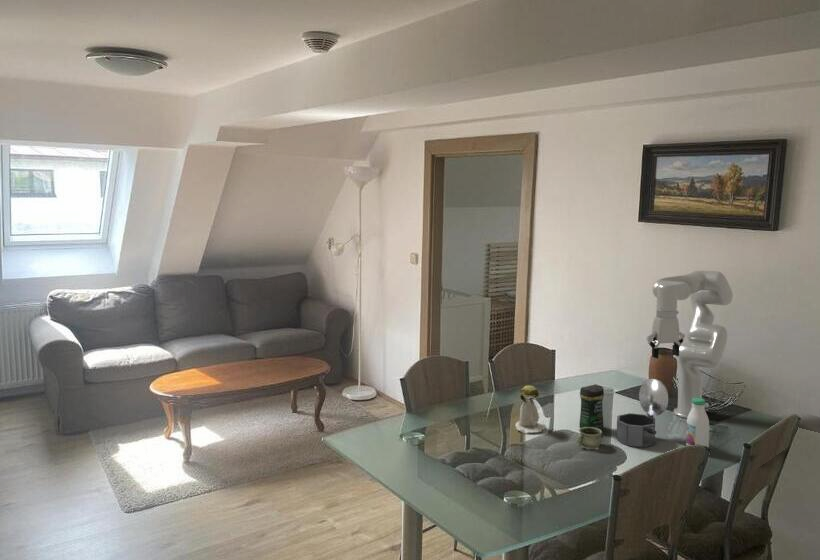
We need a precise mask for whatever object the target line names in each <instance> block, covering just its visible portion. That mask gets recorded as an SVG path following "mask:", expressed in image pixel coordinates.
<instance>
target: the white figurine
mask: <svg viewBox="0 0 820 560" xmlns="http://www.w3.org/2000/svg"><path fill="white" fill-rule="evenodd" d="M519 394H520V395H519V396H520V399H521V401H522V404H521V406H520V408H519V420H518V421H517V422H515V429H516V430H517V431H520V432H521V433H522V434H529V433H530V434H531V433H532V434H533V433H542V432H543V430H545V429H546V426H547V424H546V423H544V421H542V422H540V423H539V419H540V413H539V412H538V408H537V406H536V403H535V402H534V400H537V399H539V398H540V397H541V395H540V392H539V391H538V389H537V388H536V387H535V386H533V385H525V386H523V388H521V390H520V392H519Z"/></svg>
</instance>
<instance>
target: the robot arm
mask: <svg viewBox="0 0 820 560" xmlns="http://www.w3.org/2000/svg"><path fill="white" fill-rule="evenodd" d="M652 293H653V296H654V297H655V298H656V312H655V313H656V316H655V317H654V318H653V323H652V328H651V334H650V335H648V336H647V337H646V341H647V344H648V345H649V346H650V348H651V357H652V358H654V359H659V349H660V348H658V347H659V346H660V344H670V343H671V344H672V351H671V353H672V355H673V356H675V357H676V361H677V368H678V369H677V370H678V374H677V375H678V376H677V378H678V380H677V381H678V382H677V407H676V408H673V413H674V415H676V416H677V415H678V416H677V417H681V418H685V419H687V418H688V415H689V413H690V411H691V409H692V399H693V398H702V397H703V374H702V372H701V370H700V368H704V369H705V368H706V369H717V368H718V367H719V366H720V363H721V360H722V357H723V355H724V352H725V349H726V345H727V340H728V331H727V329H726V327H725V326H723V325H721V324H714V323H713V322H714V319H715V315H714V314H713V311H712V310H711V309H710V308H709V306H708V305H714V306H715V305H717V306H728V305H730V304H731V302H732V300H733V290H732V288H731V285H730V283H729V281H728V280H727V278H726V276H725V275H724V274H723V273H722V272H720V271H717V270H716V271H715V270H694V271H692V272H690V273H686V274H683V275H675V276H668V277H662V278H660V279H658V280H656V281H655V282H654V283H653V286H652ZM688 298H690V303H691V306H692V307H691V308H692V311H693V312H692V317H691V319H690V323H689V326H688V329H687V331H686V334H684V333H683V332H681V331H680V323H679V318H678V317H677V316H678V315H679V310H678V301H685V300H687V299H688ZM685 337H686V340H687V341H688V342H684V339H685ZM702 399H703V398H702ZM704 408H705V409H706V408H707V409H708V408H710V404H709V402H705V406H704Z"/></svg>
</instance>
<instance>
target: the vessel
mask: <svg viewBox="0 0 820 560" xmlns="http://www.w3.org/2000/svg"><path fill="white" fill-rule="evenodd" d="M578 431H579V435H578V436H577V443H578V447H581V446H583V447H585V448H587V449H586V450H589V449H596V448H599V447H600V448H601V444H602V443H603V438H604V433H603V432H602V429H601V430H600V429H598V428H594V427H583V428H580V427H579V430H578ZM600 448H599V449H600ZM596 450H597V449H596Z"/></svg>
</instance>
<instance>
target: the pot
mask: <svg viewBox="0 0 820 560" xmlns="http://www.w3.org/2000/svg"><path fill="white" fill-rule="evenodd" d="M616 417H617V418H616V440H617V442H619V443H620V444H622V445H624V446H627V447H632V448H648V447H652V446H654V445H655V444H656V434H657V431H656V418H655V416H653V417H650V416H648V415H647V414H642V413H630V412H629V413H623V414H620V415H617V416H616Z"/></svg>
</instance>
